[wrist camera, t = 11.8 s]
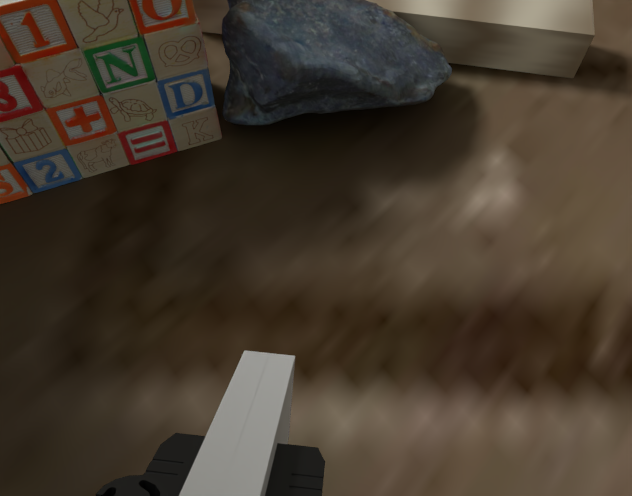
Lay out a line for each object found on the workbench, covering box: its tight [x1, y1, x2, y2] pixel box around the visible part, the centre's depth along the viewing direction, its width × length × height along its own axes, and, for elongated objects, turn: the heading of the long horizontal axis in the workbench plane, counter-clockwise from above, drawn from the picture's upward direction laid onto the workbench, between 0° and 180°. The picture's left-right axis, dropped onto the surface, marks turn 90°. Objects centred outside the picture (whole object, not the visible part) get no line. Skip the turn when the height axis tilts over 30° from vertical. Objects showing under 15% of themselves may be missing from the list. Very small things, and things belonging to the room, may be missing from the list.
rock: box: [222, 0, 452, 125], centre depth 37 cm, size 16×8×10 cm
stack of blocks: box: [0, 0, 222, 204], centre depth 32 cm, size 21×6×12 cm, turn 112°
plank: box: [192, 0, 595, 78], centre depth 41 cm, size 28×4×4 cm, turn 79°
